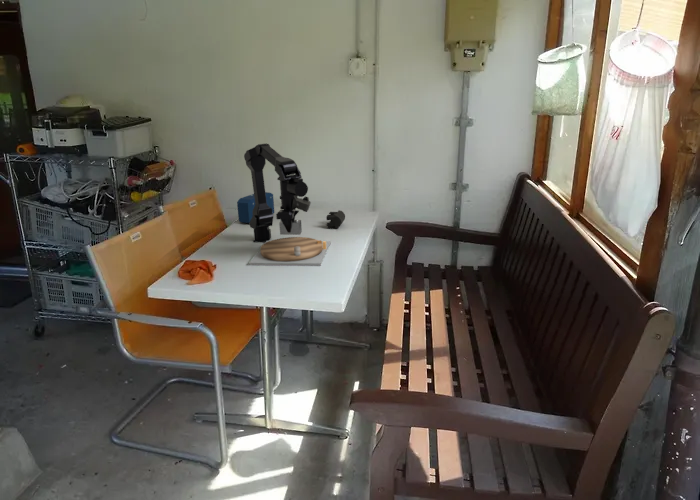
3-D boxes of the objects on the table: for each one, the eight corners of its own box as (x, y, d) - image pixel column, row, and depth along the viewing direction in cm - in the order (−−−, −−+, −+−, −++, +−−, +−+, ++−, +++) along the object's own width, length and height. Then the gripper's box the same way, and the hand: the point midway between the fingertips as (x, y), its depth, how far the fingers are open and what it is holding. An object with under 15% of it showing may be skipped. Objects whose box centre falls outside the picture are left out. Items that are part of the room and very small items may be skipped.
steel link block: (280, 234, 217) (279, 221, 215) (282, 231, 220) (281, 218, 219) (299, 234, 216) (299, 221, 214) (301, 231, 220) (301, 218, 218)
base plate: (248, 265, 209) (247, 255, 208) (266, 242, 236) (266, 234, 234) (320, 265, 206) (320, 255, 205) (330, 243, 233) (330, 234, 231)
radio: (262, 213, 285) (259, 175, 278) (276, 215, 281) (273, 176, 274) (236, 223, 267) (232, 183, 261) (251, 225, 263) (247, 184, 257)
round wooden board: (256, 245, 228) (255, 234, 227) (314, 238, 235) (313, 227, 234) (266, 264, 205) (265, 252, 204) (329, 256, 212) (329, 244, 211)
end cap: (341, 229, 252) (341, 215, 250) (326, 229, 253) (326, 215, 251) (345, 223, 261) (345, 210, 259) (331, 223, 262) (330, 210, 260)
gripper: (303, 198, 203) (306, 237, 208) (312, 187, 221) (314, 224, 226) (274, 198, 204) (277, 237, 209) (285, 187, 222) (287, 224, 227)
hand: (290, 230), depth 218 cm, fingers closed on steel link block, 4 cm apart
